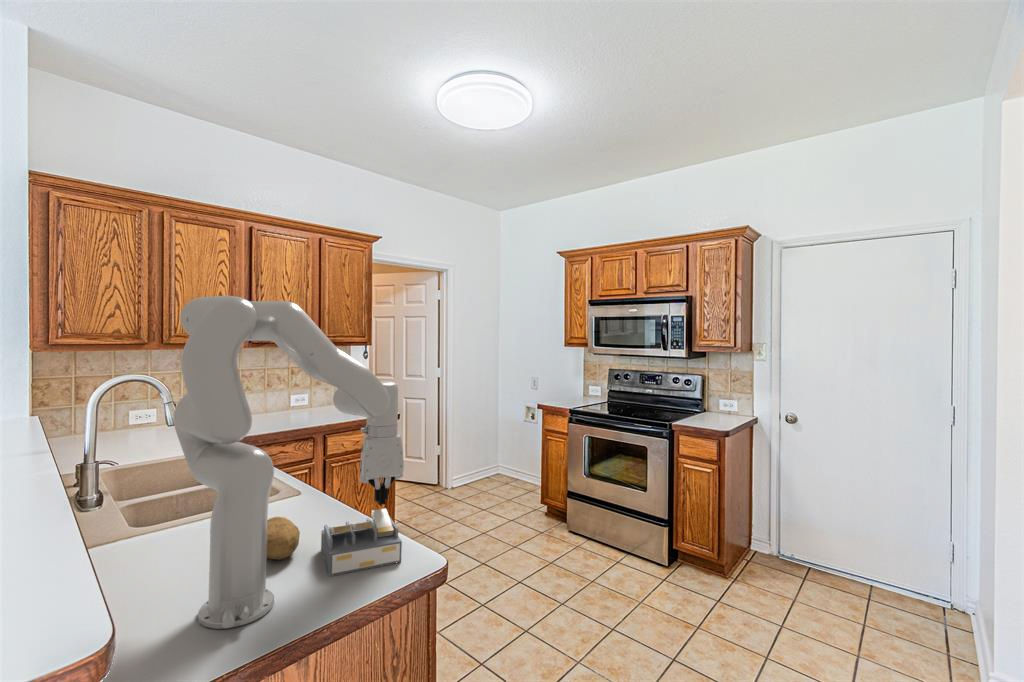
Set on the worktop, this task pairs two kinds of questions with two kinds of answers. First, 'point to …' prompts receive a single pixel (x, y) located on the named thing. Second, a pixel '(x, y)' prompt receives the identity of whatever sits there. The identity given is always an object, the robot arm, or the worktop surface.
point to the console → (359, 549)
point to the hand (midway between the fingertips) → (381, 502)
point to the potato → (281, 538)
